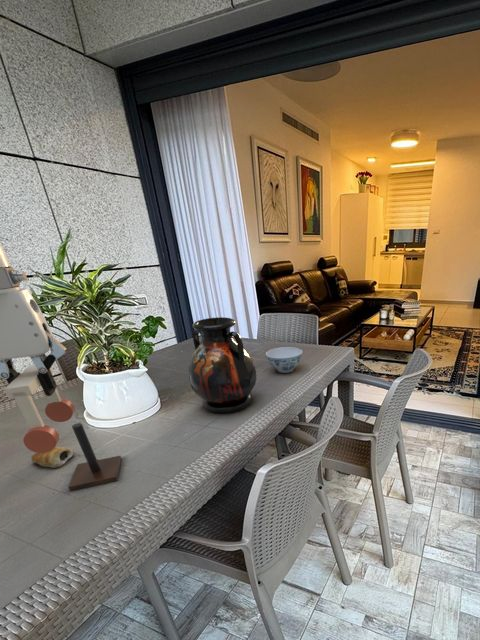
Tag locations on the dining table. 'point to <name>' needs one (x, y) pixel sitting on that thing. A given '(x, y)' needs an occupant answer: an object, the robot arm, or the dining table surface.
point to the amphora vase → (221, 366)
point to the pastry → (53, 457)
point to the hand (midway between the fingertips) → (37, 394)
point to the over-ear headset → (57, 410)
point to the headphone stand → (92, 465)
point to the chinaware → (284, 358)
